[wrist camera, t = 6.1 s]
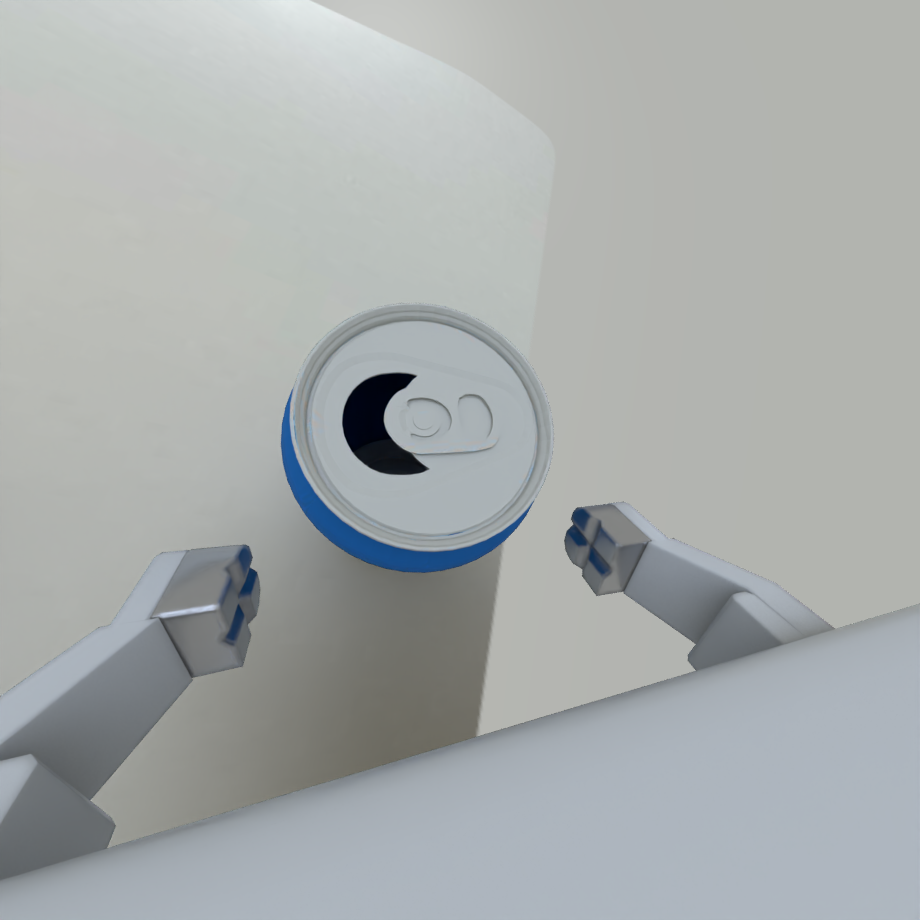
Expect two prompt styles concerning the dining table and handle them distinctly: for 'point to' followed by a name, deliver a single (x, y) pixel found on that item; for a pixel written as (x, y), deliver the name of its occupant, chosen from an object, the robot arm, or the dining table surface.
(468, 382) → the beverage can
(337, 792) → the robot arm
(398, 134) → the dining table surface
